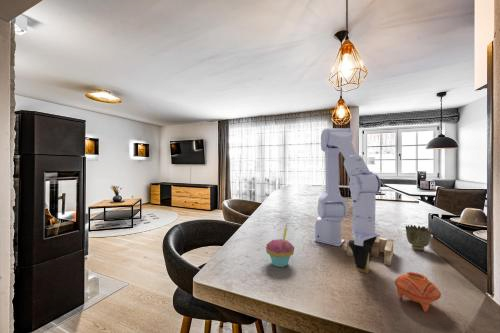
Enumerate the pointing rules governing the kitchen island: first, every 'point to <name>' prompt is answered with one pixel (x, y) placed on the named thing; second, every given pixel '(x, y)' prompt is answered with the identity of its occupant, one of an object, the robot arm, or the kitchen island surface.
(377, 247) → the tab block
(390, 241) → the beige blocky multi-part fixture
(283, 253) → the cupcake
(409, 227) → the cup
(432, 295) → the orange ridged rounded piece
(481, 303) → the kitchen island surface
